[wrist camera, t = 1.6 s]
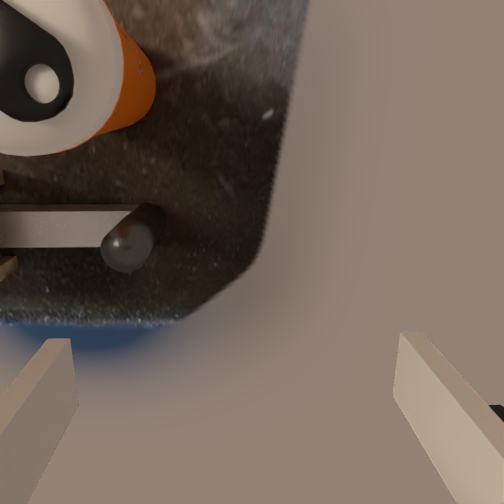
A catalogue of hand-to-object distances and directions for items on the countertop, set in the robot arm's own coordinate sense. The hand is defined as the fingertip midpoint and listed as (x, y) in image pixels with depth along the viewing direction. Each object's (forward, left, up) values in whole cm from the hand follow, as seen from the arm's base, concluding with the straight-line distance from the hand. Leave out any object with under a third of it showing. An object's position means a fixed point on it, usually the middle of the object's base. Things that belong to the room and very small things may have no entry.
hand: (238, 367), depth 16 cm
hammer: (-16, 0, -24) cm, 29 cm away
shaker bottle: (-10, +11, -25) cm, 29 cm away
